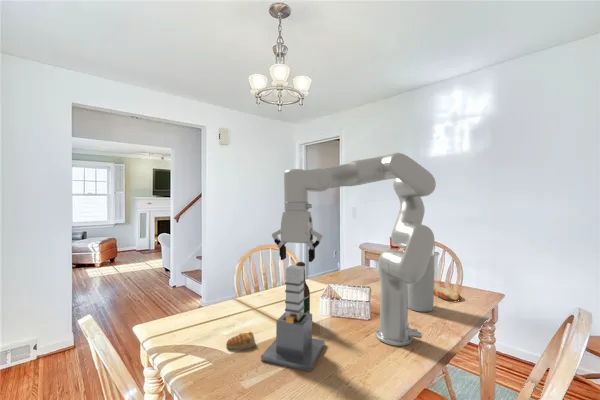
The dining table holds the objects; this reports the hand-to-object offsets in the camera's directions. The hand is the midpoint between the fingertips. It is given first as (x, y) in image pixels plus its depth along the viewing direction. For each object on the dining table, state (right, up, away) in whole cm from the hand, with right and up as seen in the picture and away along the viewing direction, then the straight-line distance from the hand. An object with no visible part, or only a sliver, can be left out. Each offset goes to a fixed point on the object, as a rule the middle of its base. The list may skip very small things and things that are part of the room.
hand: (297, 260), depth 92 cm
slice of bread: (+75, -31, +56) cm, 99 cm away
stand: (-1, -30, 0) cm, 30 cm away
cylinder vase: (+56, -30, +39) cm, 75 cm away
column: (-1, -20, 0) cm, 20 cm away
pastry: (-19, -30, +5) cm, 36 cm away
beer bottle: (+1, -30, +23) cm, 38 cm away
